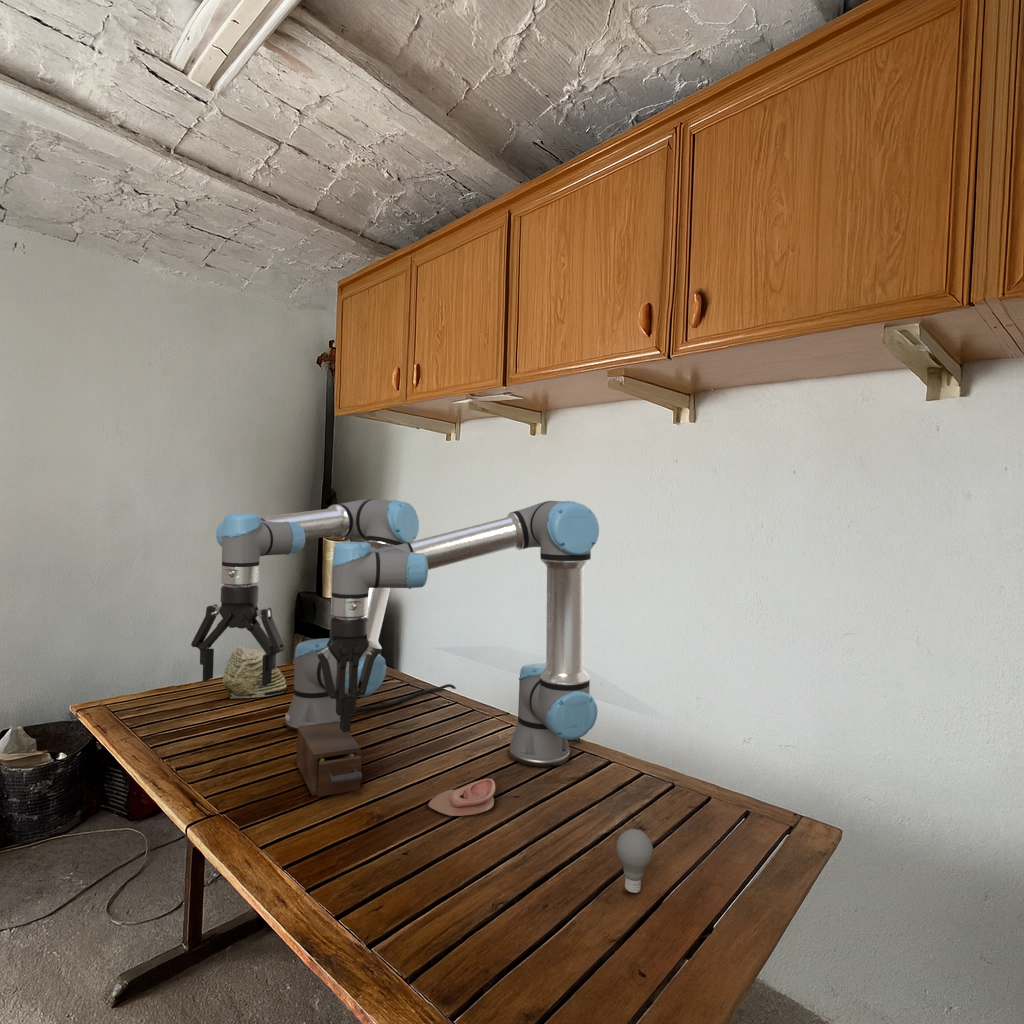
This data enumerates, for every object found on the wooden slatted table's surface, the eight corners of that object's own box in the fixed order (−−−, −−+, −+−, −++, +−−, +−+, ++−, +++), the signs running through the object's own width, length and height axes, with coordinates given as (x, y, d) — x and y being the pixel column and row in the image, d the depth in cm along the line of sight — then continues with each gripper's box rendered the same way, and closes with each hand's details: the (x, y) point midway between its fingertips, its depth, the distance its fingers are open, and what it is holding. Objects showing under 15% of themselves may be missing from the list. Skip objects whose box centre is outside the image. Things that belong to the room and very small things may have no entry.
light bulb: (610, 879, 108) (613, 822, 108) (644, 879, 109) (647, 822, 109) (619, 902, 102) (622, 840, 102) (655, 901, 103) (658, 840, 103)
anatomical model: (423, 792, 129) (441, 769, 140) (422, 812, 129) (440, 787, 140) (487, 801, 126) (499, 777, 137) (486, 821, 126) (498, 795, 137)
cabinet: (359, 787, 139) (360, 747, 139) (312, 796, 134) (313, 754, 134) (338, 756, 154) (340, 720, 154) (296, 763, 150) (297, 726, 149)
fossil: (218, 695, 195) (220, 647, 195) (278, 685, 208) (279, 640, 207) (228, 703, 189) (230, 653, 188) (289, 692, 201) (290, 645, 201)
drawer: (367, 800, 131) (368, 767, 131) (324, 808, 127) (325, 774, 127) (340, 759, 150) (341, 731, 150) (302, 765, 146) (303, 736, 146)
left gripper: (175, 583, 135) (172, 682, 136) (286, 590, 132) (283, 691, 133) (196, 579, 143) (194, 673, 143) (302, 585, 140) (299, 681, 140)
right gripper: (321, 621, 125) (316, 740, 125) (385, 618, 131) (381, 731, 131) (313, 614, 131) (309, 727, 132) (374, 611, 137) (370, 719, 138)
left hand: (237, 681), depth 138 cm, fingers open, 13 cm apart
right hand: (345, 729), depth 131 cm, fingers closed
